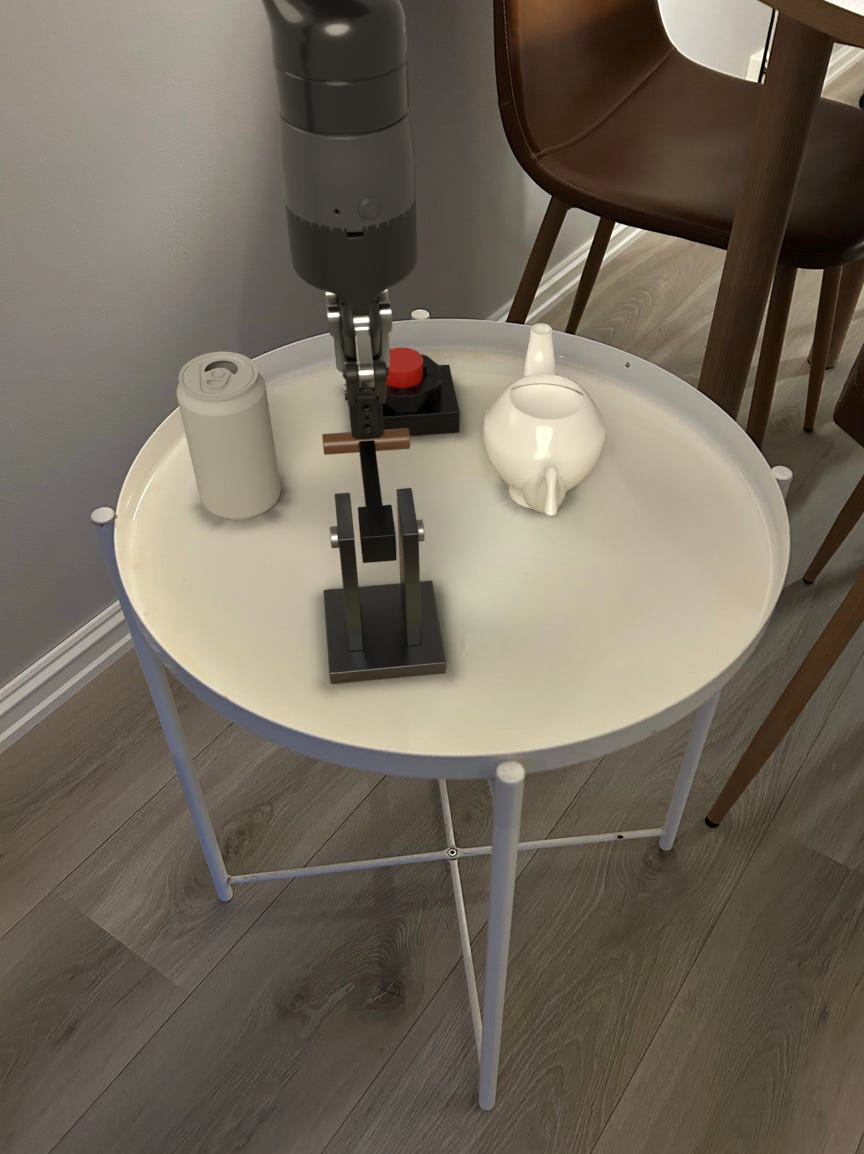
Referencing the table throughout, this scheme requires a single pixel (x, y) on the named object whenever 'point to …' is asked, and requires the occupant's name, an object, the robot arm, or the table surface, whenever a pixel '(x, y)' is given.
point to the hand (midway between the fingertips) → (367, 432)
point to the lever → (372, 490)
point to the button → (405, 368)
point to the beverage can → (229, 434)
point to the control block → (424, 403)
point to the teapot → (543, 430)
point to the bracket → (382, 608)
